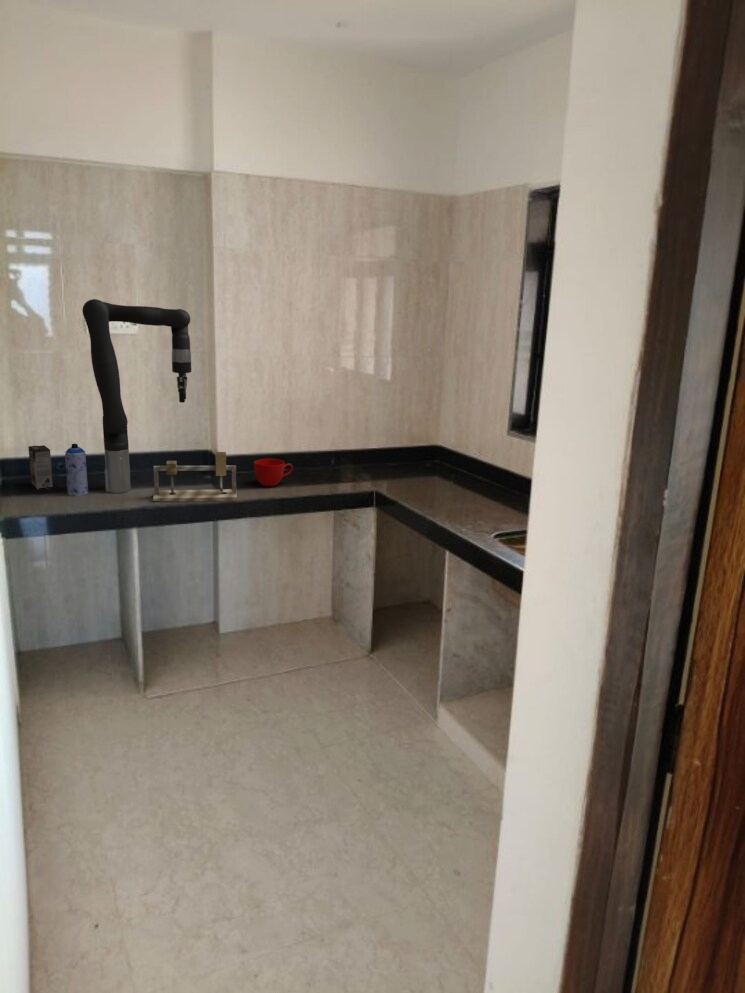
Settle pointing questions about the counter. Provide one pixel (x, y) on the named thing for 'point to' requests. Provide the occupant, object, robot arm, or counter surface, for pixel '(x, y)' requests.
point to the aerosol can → (76, 470)
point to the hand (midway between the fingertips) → (182, 400)
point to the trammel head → (221, 467)
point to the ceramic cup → (270, 471)
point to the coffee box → (40, 466)
